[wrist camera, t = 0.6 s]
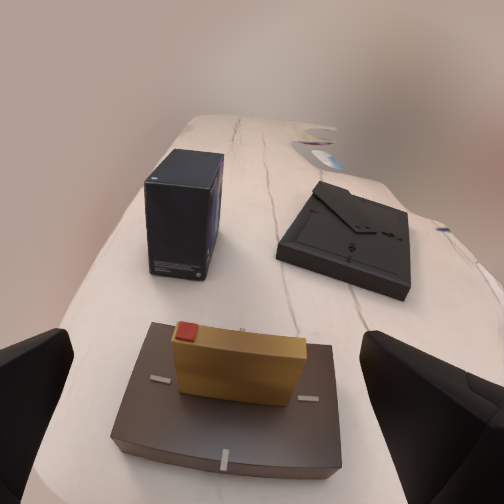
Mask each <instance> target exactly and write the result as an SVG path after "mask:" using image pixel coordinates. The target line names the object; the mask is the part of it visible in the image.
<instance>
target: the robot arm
mask: <svg viewBox="0 0 504 504" xmlns="http://www.w3.org/2000/svg"><path fill="white" fill-rule="evenodd" d="M73 359H74V351H73V348H72V345H71V341H70V338H69V334H68V332H67V331H66V330H65V329H58V328H55V329H52V330H49V331H47V332H44V333H42V334H39V335H37V336H34V337H32V338H29V339H26V340H24V341H21V342H19V343H16V344H14V345H11V346H9V347H7V348H4V349H1V350H0V504H20V503H21V502H20V501H21V499H22V496H23V492H24V489H25V486H26V483H27V480H28V477H29V474H30V472H31V469H32V466H33V463H34V461H35V458H36V455H37V452H38V450H39V447H40V445H41V442H42V440H43V437H44V435H45V432H46V430H47V427H48V425H49V422H50V420H51V418H52V415H53V413H54V411H55V408H56V406H57V404H58V401H59V399H60V397H61V394H62V391H63V388H64V385H65V382H66V379H67V376H68V373H69V370H70V367H71V365H72V362H73ZM359 359H360V365H361V368H362V372H363V376H364V379H365V383H366V387H367V391H368V395H369V398H370V402H371V405H372V407H373V410H374V413H375V415H376V418H377V420H378V423H379V425H380V428H381V431H382V433H383V436H384V438H385V441H386V444H387V446H388V449H389V452H390V454H391V457H392V460H393V463H394V465H395V468H396V471H397V474H398V476H399V479H400V482H401V485H402V488H403V491H404V493H405V496H406V499H407V502H408V504H504V387H502V386H500V385H497V384H494V383H492V382H489V381H487V380H485V379H482V378H480V377H478V376H475V375H473V374H471V373H469V372H466V371H464V370H462V369H460V368H458V367H455V366H453V365H451V364H449V363H447V362H445V361H442V360H440V359H438V358H436V357H434V356H432V355H429V354H427V353H425V352H423V351H421V350H419V349H416V348H414V347H412V346H410V345H408V344H406V343H404V342H402V341H399V340H397V339H395V338H393V337H391V336H389V335H387V334H385V333H382V332H380V331H377V330H376V331H367V332H365V333H364V335H363V340H362V345H361V350H360V357H359Z"/></svg>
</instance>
